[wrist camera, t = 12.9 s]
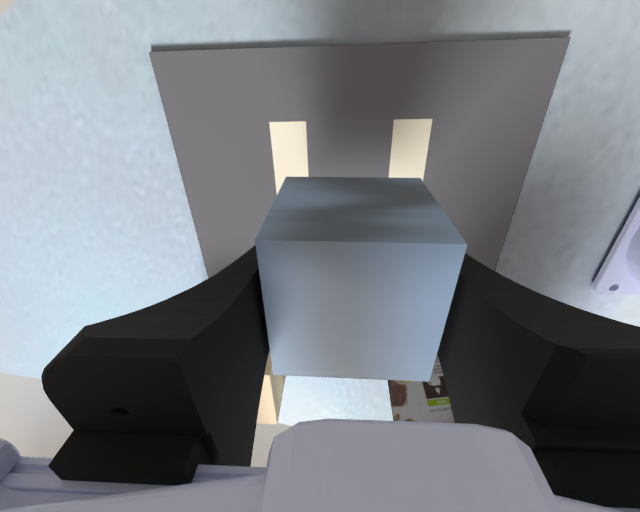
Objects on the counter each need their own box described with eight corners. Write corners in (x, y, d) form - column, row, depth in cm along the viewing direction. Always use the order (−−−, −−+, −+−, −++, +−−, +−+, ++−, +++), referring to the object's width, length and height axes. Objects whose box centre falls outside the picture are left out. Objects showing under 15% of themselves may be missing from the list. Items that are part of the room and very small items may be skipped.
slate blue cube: (420, 177, 11) (467, 244, 7) (402, 286, 14) (429, 381, 10) (286, 176, 12) (254, 239, 7) (293, 282, 14) (273, 374, 10)
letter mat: (567, 37, 13) (571, 37, 13) (483, 298, 20) (484, 301, 20) (151, 51, 14) (148, 51, 14) (214, 295, 21) (213, 297, 21)
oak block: (282, 315, 22) (269, 375, 18) (287, 362, 25) (277, 424, 20) (214, 314, 22) (185, 372, 18) (226, 360, 25) (203, 421, 21)
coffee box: (380, 352, 23) (437, 757, 10) (469, 339, 22) (678, 780, 8) (398, 420, 28) (455, 763, 14) (473, 412, 27) (615, 779, 13)
